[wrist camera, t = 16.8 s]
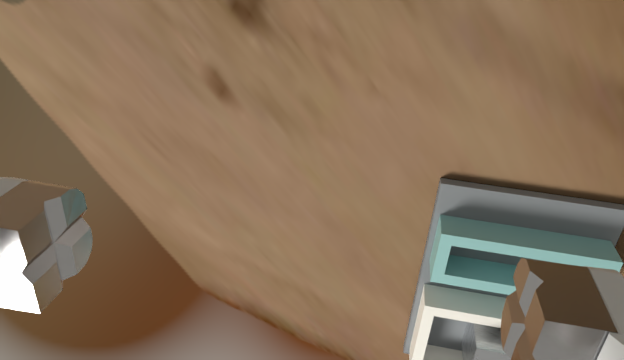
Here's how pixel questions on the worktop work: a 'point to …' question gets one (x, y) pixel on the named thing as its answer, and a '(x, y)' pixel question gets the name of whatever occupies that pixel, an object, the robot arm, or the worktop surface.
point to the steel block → (482, 343)
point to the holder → (497, 255)
